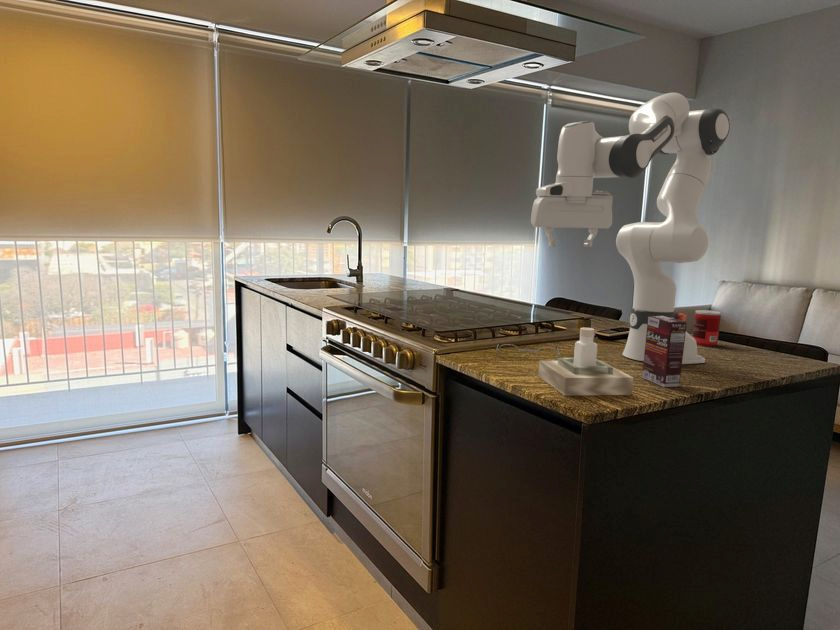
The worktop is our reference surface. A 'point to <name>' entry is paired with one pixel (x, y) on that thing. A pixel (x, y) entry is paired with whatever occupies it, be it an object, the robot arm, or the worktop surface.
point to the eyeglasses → (530, 350)
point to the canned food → (706, 327)
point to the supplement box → (664, 350)
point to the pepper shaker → (585, 348)
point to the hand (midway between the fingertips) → (570, 246)
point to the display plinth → (585, 378)
